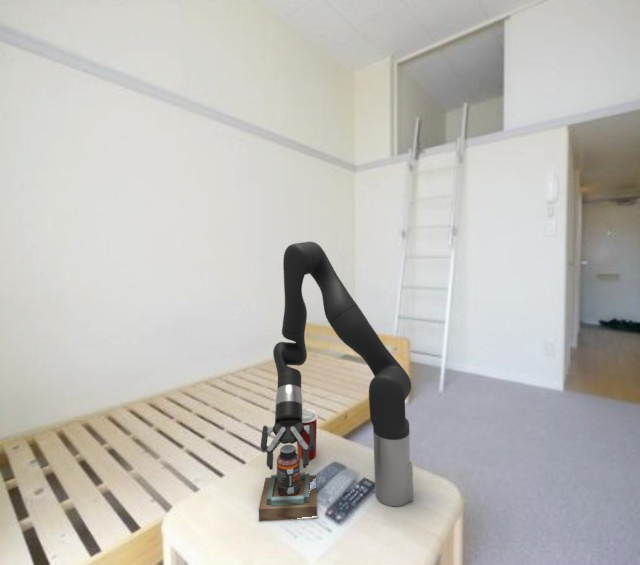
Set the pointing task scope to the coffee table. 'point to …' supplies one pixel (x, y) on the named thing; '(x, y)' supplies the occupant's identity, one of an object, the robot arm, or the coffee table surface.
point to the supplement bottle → (288, 471)
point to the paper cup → (307, 419)
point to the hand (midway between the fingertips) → (287, 468)
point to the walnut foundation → (287, 500)
